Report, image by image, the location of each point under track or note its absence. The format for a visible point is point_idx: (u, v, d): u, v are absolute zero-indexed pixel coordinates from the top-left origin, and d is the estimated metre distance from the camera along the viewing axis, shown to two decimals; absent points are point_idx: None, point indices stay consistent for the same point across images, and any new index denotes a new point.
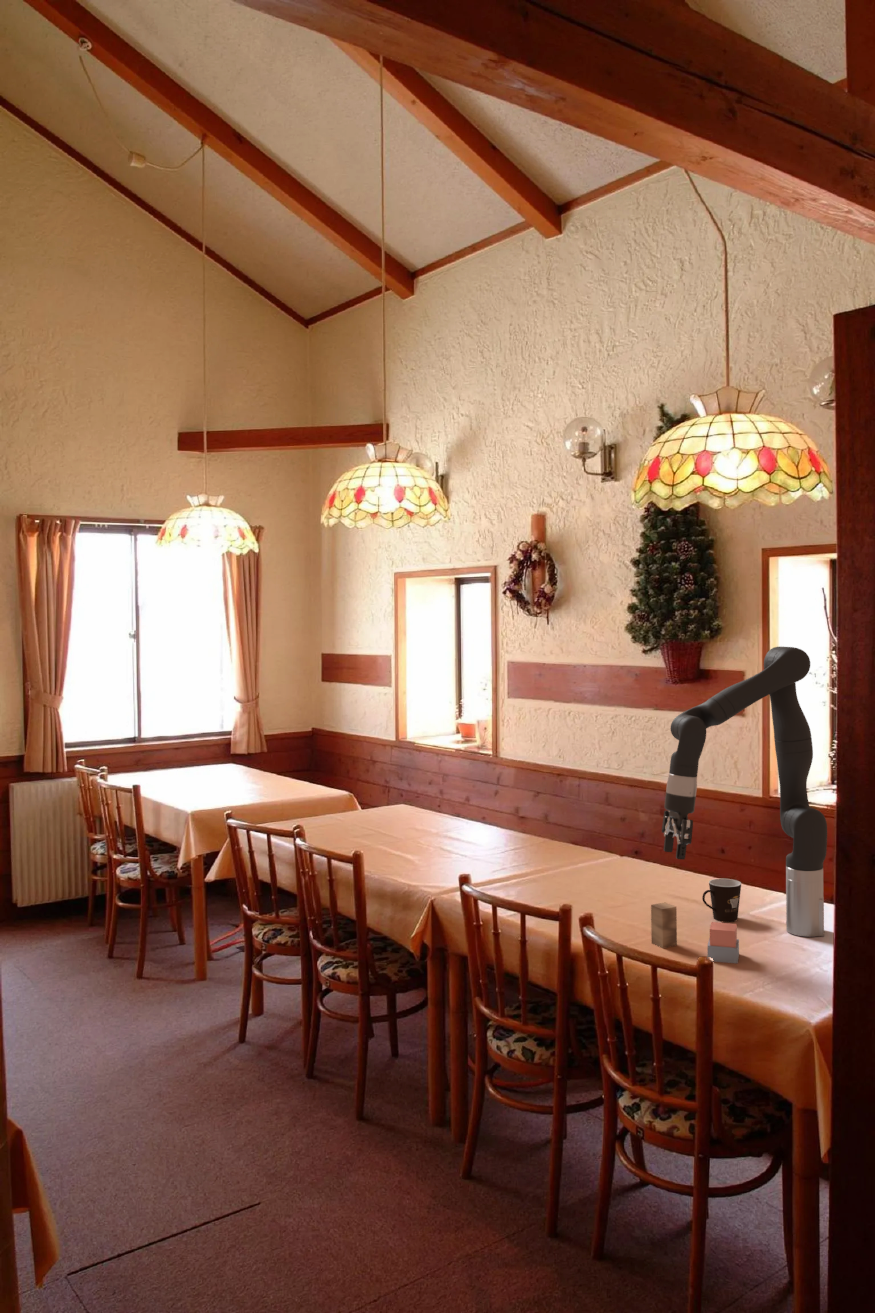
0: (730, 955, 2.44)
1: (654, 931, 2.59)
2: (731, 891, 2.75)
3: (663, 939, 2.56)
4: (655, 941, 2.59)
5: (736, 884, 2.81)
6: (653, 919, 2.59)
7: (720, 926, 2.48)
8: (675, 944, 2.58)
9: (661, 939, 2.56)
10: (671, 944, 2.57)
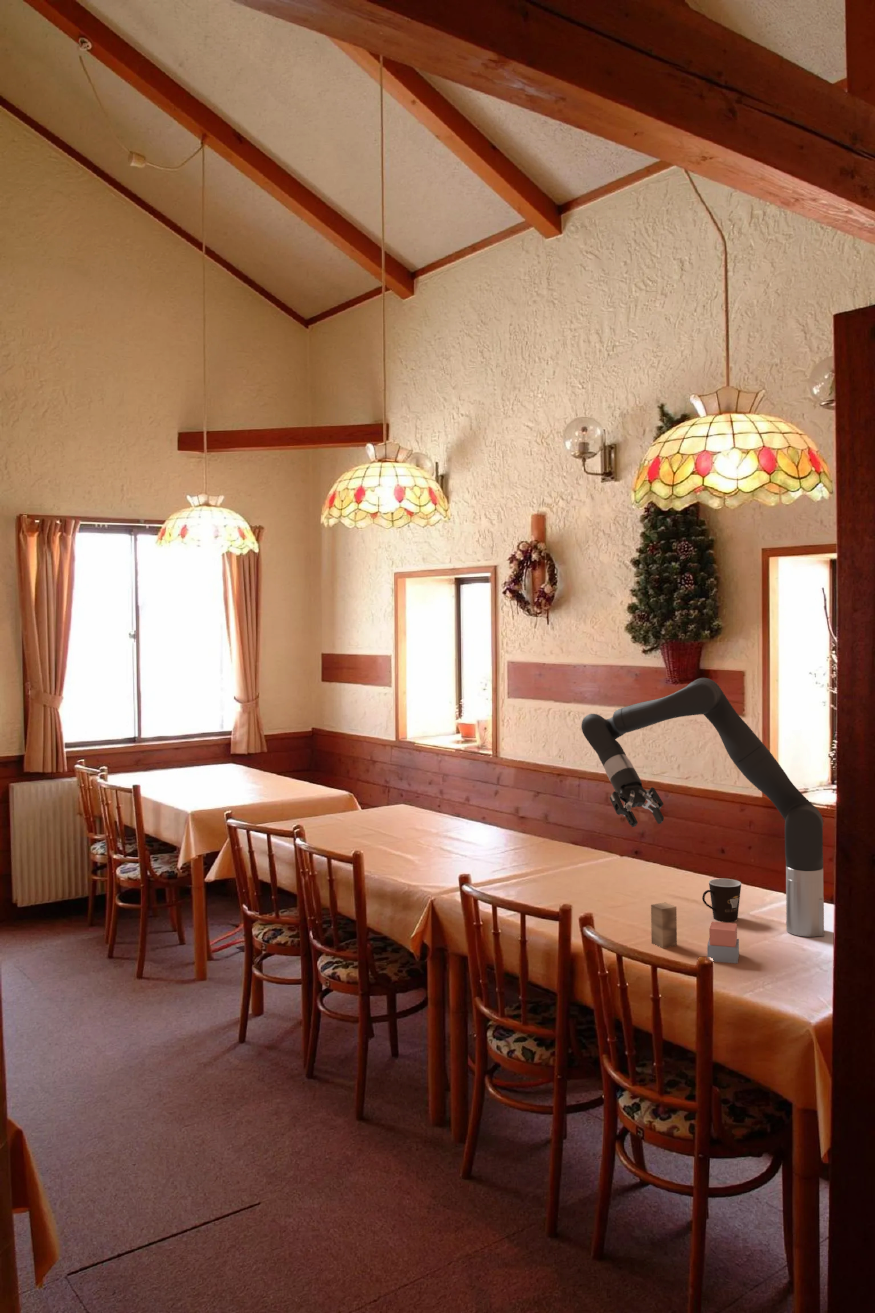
0: (730, 954, 2.44)
1: (654, 931, 2.59)
2: (731, 891, 2.75)
3: (663, 939, 2.56)
4: (655, 941, 2.59)
5: (736, 884, 2.81)
6: (653, 919, 2.59)
7: (720, 926, 2.48)
8: (675, 944, 2.58)
9: (661, 939, 2.56)
10: (671, 944, 2.57)
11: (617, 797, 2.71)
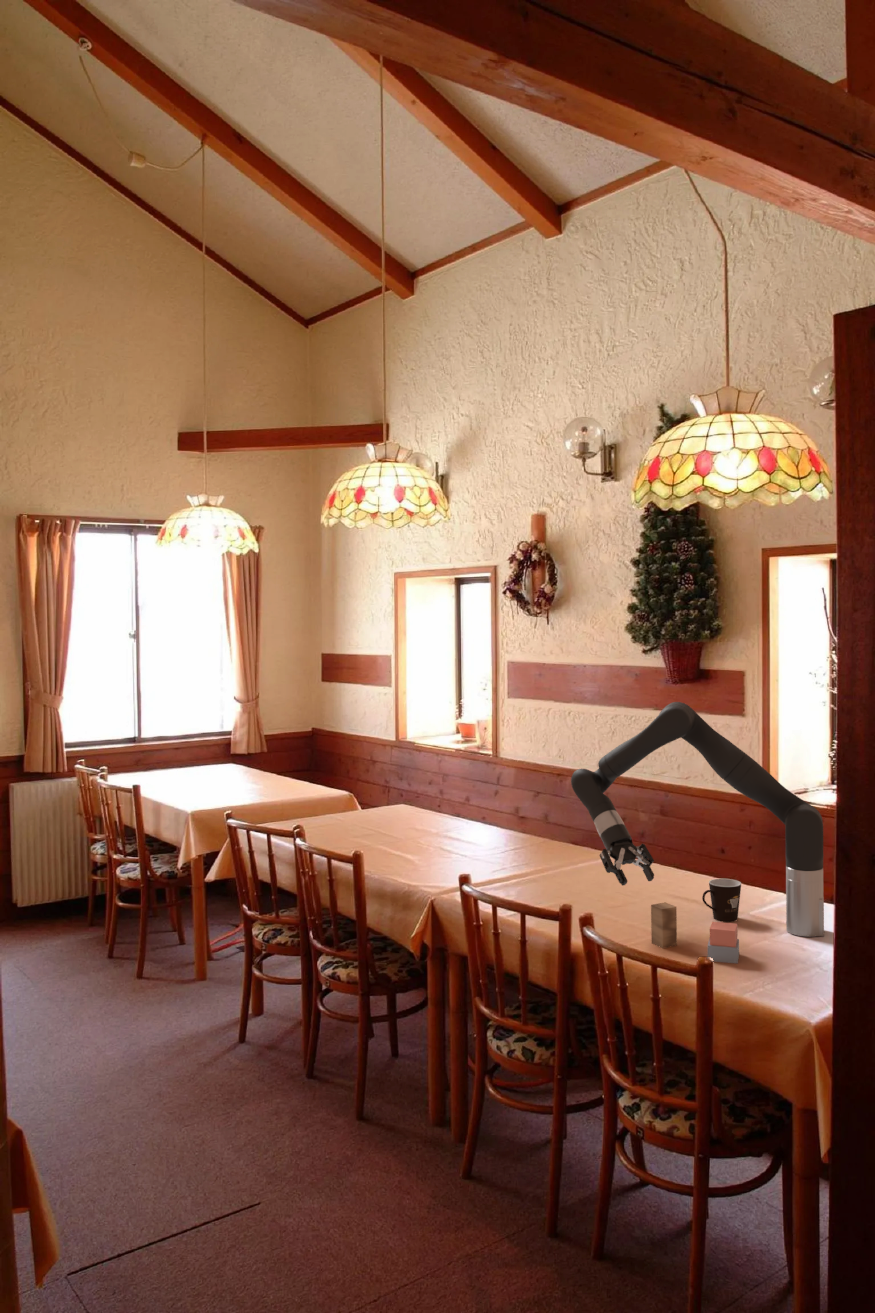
0: (730, 954, 2.44)
1: (654, 931, 2.59)
2: (731, 891, 2.75)
3: (663, 939, 2.56)
4: (655, 941, 2.59)
5: (736, 884, 2.81)
6: (653, 919, 2.59)
7: (720, 926, 2.48)
8: (675, 944, 2.58)
9: (661, 939, 2.56)
10: (671, 944, 2.57)
11: (607, 855, 2.70)
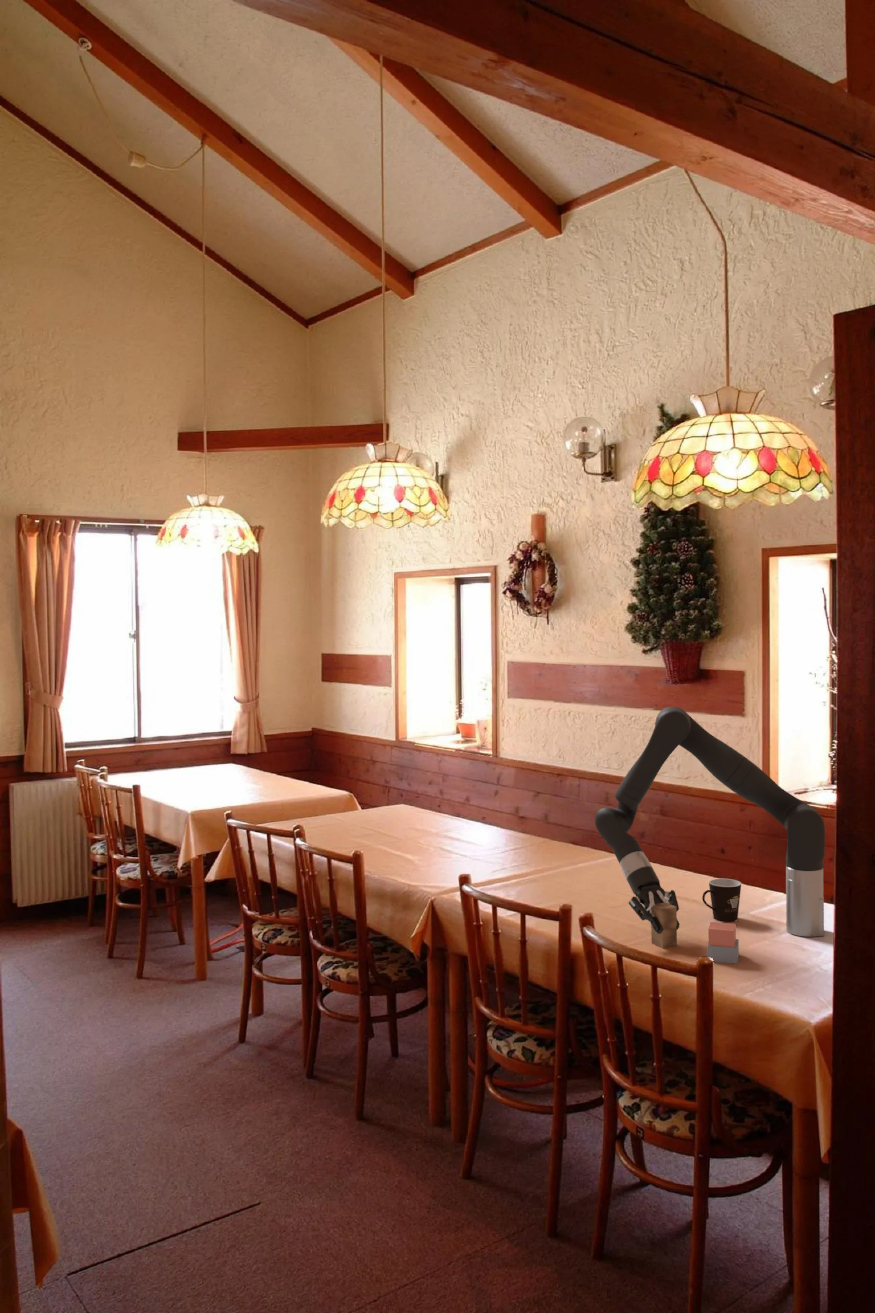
0: (730, 955, 2.44)
1: (654, 931, 2.59)
2: (731, 891, 2.75)
3: (663, 939, 2.56)
4: (655, 941, 2.59)
5: (736, 884, 2.81)
6: None
7: (719, 926, 2.48)
8: (675, 944, 2.58)
9: (661, 939, 2.56)
10: (671, 944, 2.57)
11: (638, 902, 2.59)
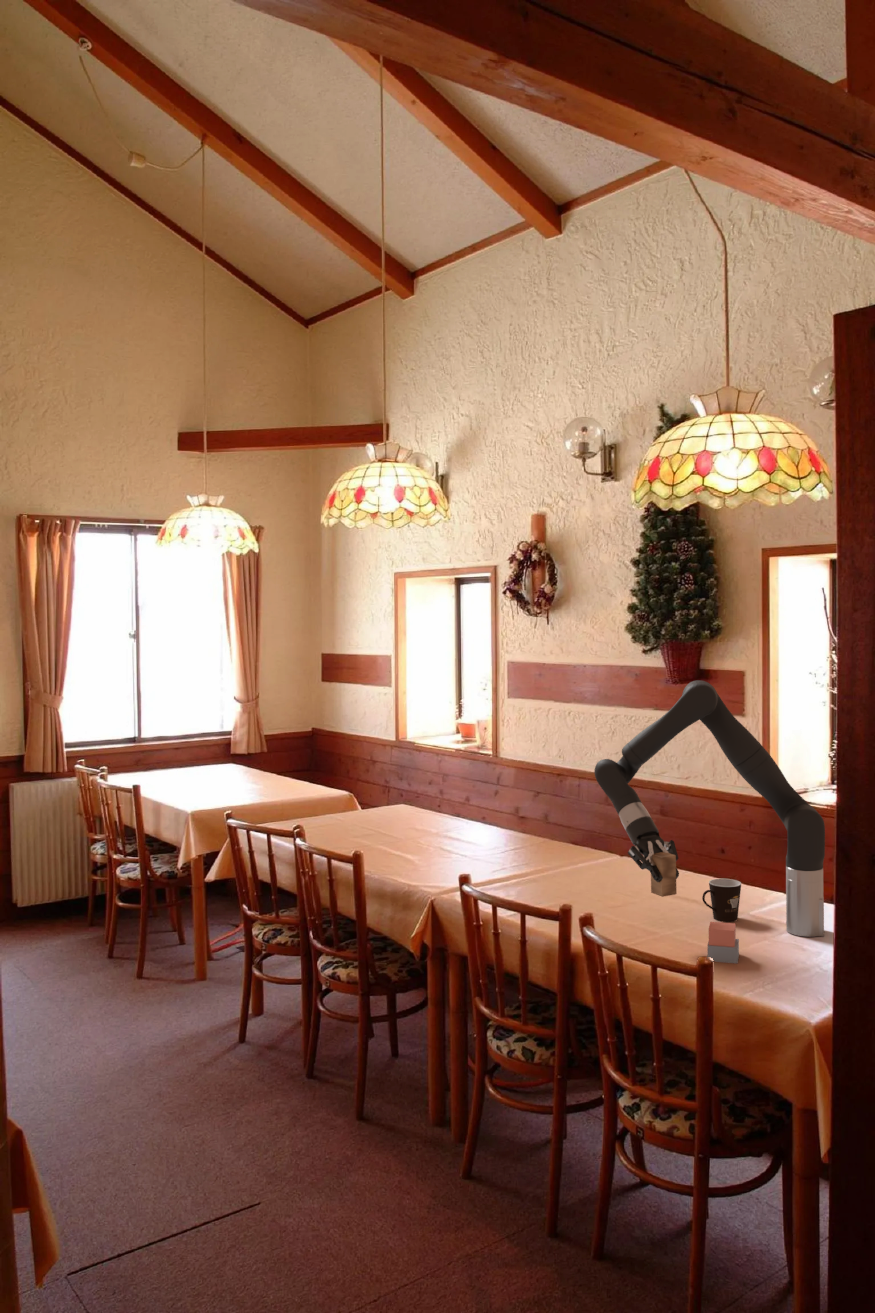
0: (730, 954, 2.44)
1: (654, 880, 2.58)
2: (731, 891, 2.75)
3: (663, 888, 2.56)
4: (654, 890, 2.58)
5: (736, 884, 2.81)
6: None
7: (719, 926, 2.48)
8: (674, 893, 2.57)
9: (661, 887, 2.56)
10: (671, 893, 2.57)
11: (637, 852, 2.58)
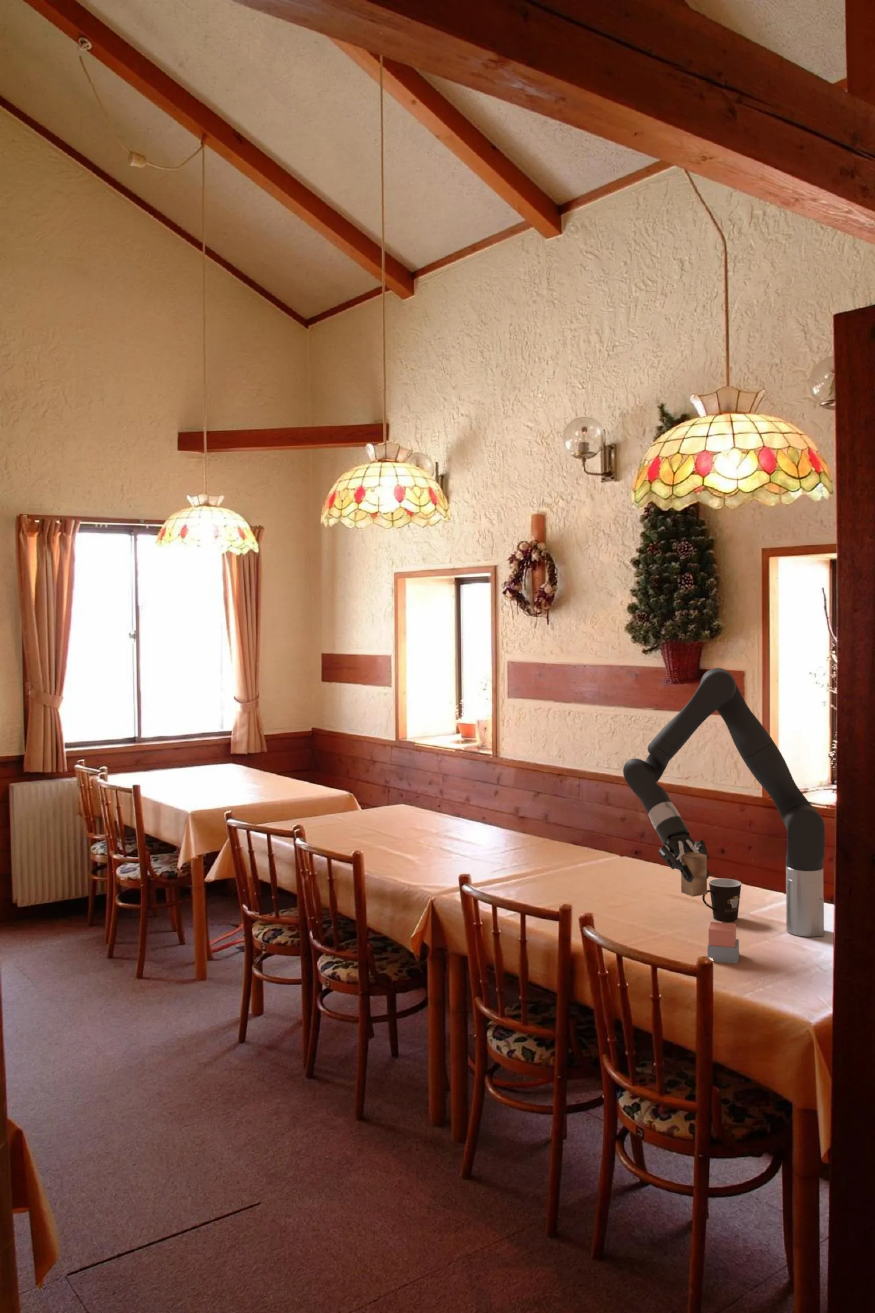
0: (730, 955, 2.44)
1: (684, 880, 2.57)
2: (731, 891, 2.75)
3: (693, 887, 2.55)
4: (685, 890, 2.57)
5: (736, 884, 2.81)
6: None
7: (719, 926, 2.48)
8: (705, 893, 2.56)
9: (691, 887, 2.55)
10: (701, 893, 2.56)
11: (668, 851, 2.57)
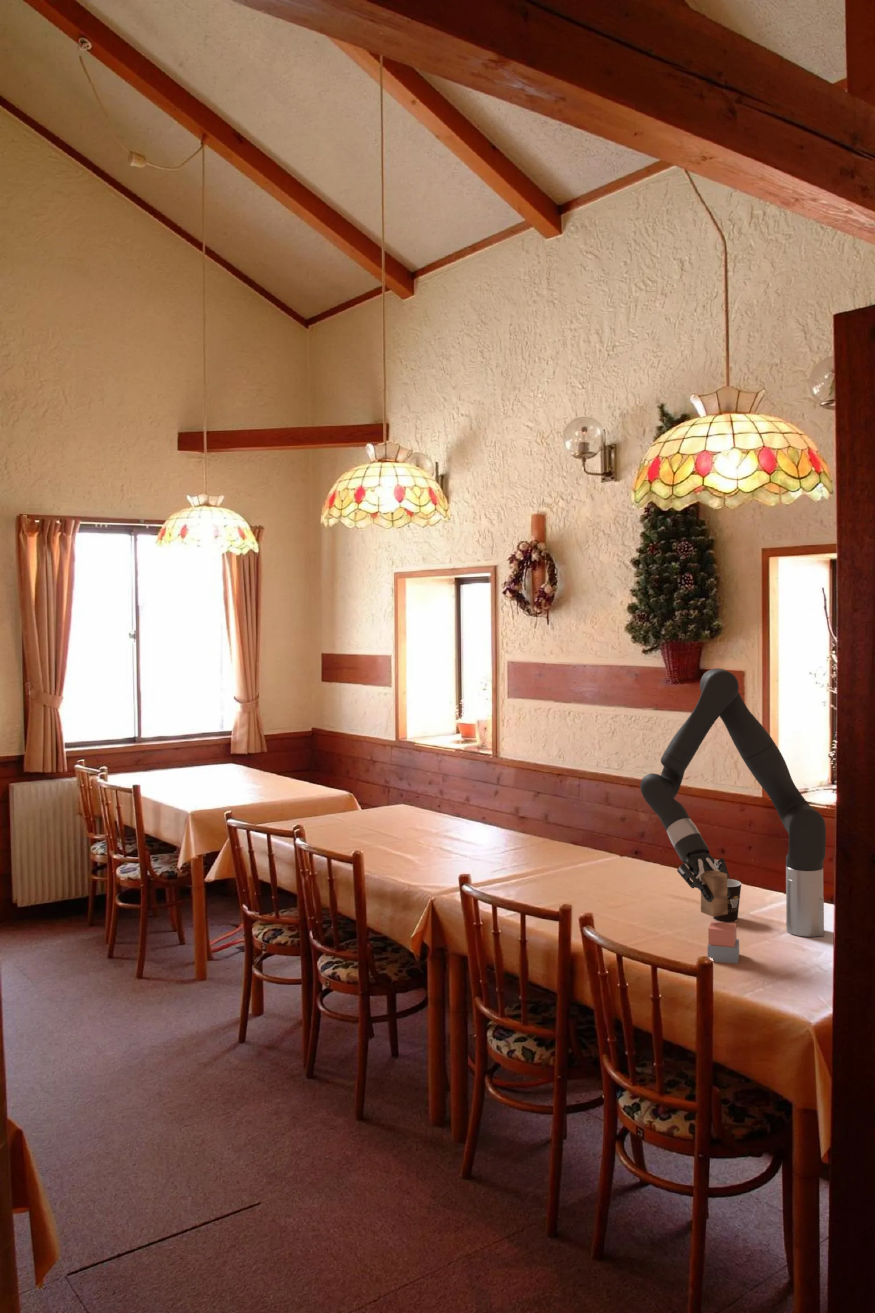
0: (730, 954, 2.44)
1: (704, 899, 2.51)
2: (731, 891, 2.75)
3: (714, 907, 2.48)
4: (705, 910, 2.50)
5: (736, 884, 2.81)
6: None
7: (719, 926, 2.48)
8: (726, 913, 2.49)
9: (711, 907, 2.48)
10: (722, 912, 2.49)
11: (687, 870, 2.51)
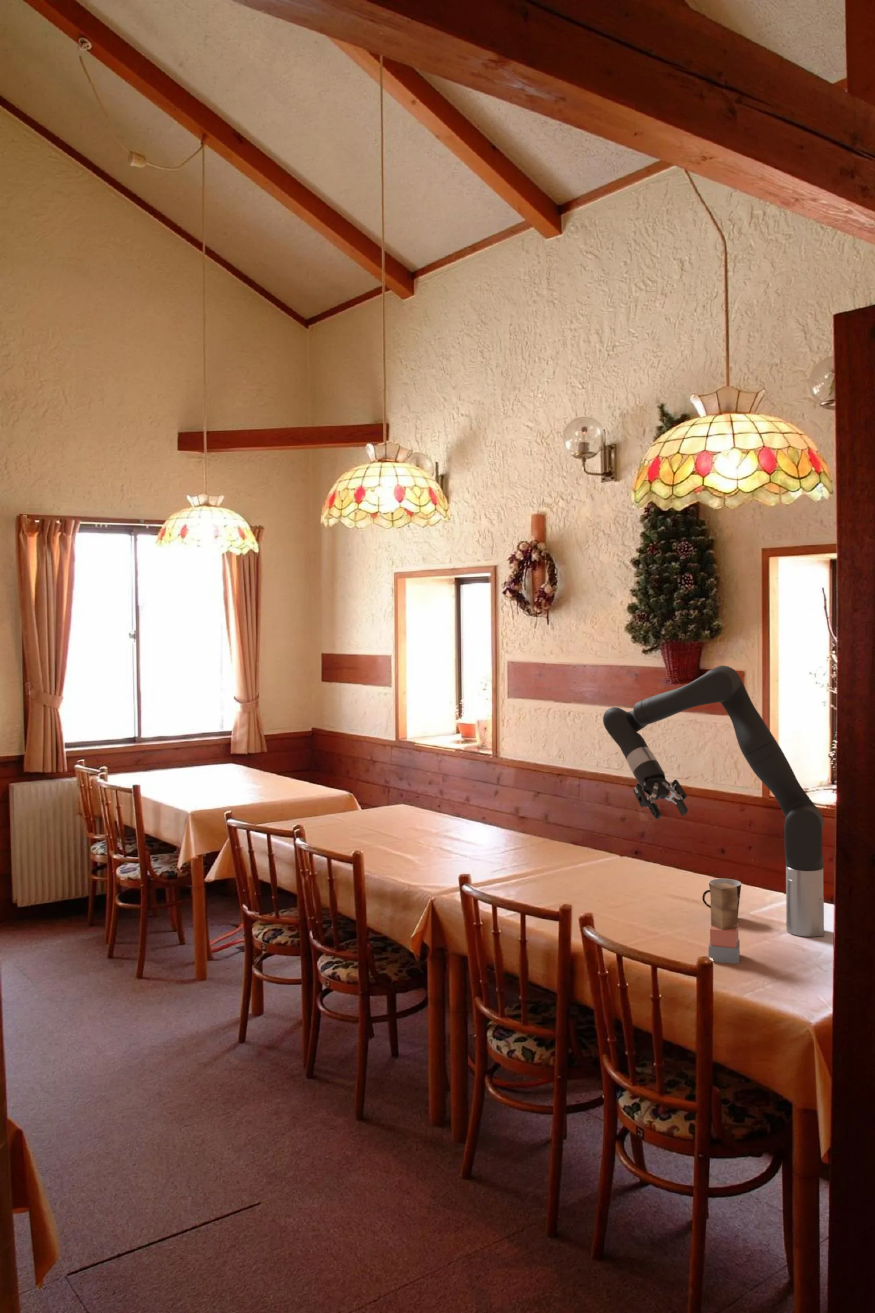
0: (731, 955, 2.44)
1: (714, 912, 2.48)
2: None
3: (723, 921, 2.45)
4: (714, 923, 2.48)
5: (736, 884, 2.81)
6: (713, 899, 2.48)
7: None
8: (736, 926, 2.46)
9: (721, 920, 2.45)
10: (731, 926, 2.46)
11: (641, 789, 2.71)
